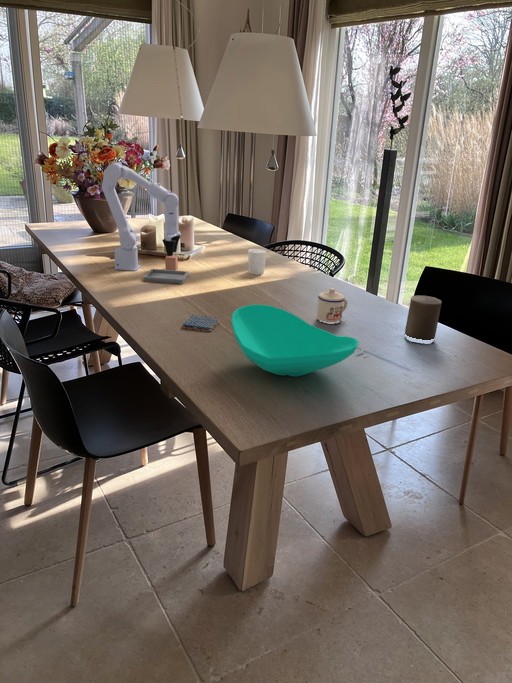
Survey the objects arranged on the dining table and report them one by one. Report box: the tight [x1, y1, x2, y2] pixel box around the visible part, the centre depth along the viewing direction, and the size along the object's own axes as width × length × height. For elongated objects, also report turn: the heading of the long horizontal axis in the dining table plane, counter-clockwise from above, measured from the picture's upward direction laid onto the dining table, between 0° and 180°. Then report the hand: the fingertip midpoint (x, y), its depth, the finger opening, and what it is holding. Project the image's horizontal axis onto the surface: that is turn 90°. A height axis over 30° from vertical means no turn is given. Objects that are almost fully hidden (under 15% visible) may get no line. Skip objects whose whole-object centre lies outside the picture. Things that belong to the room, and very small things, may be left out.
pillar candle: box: [404, 295, 442, 340], centre depth 180 cm, size 10×10×15 cm
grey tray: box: [143, 268, 190, 285], centre depth 232 cm, size 16×13×2 cm
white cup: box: [247, 248, 267, 276], centre depth 246 cm, size 8×8×10 cm
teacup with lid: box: [316, 287, 348, 322], centre depth 193 cm, size 12×9×12 cm
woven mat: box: [181, 314, 220, 333], centre depth 183 cm, size 10×11×2 cm
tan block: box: [164, 254, 179, 271], centre depth 244 cm, size 4×4×6 cm
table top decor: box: [231, 304, 360, 377], centre depth 152 cm, size 40×28×13 cm
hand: (171, 253), depth 242 cm, fingers open, 7 cm apart
